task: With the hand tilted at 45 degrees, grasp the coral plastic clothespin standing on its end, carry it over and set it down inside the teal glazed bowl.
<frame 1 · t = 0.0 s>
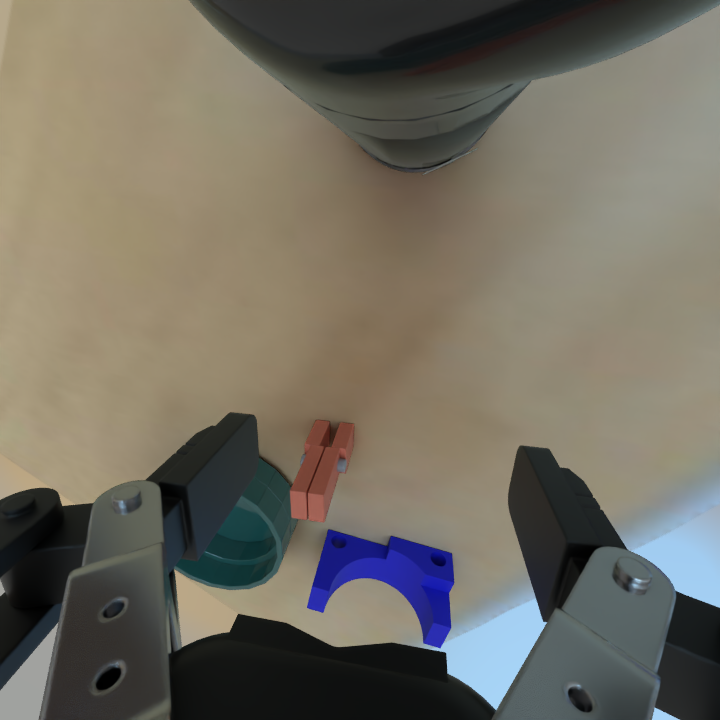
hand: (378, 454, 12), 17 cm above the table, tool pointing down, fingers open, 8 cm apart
cable clip: (385, 549, 37), on the table
clothespin: (334, 433, 32), on the table
bowl: (236, 497, 37), on the table
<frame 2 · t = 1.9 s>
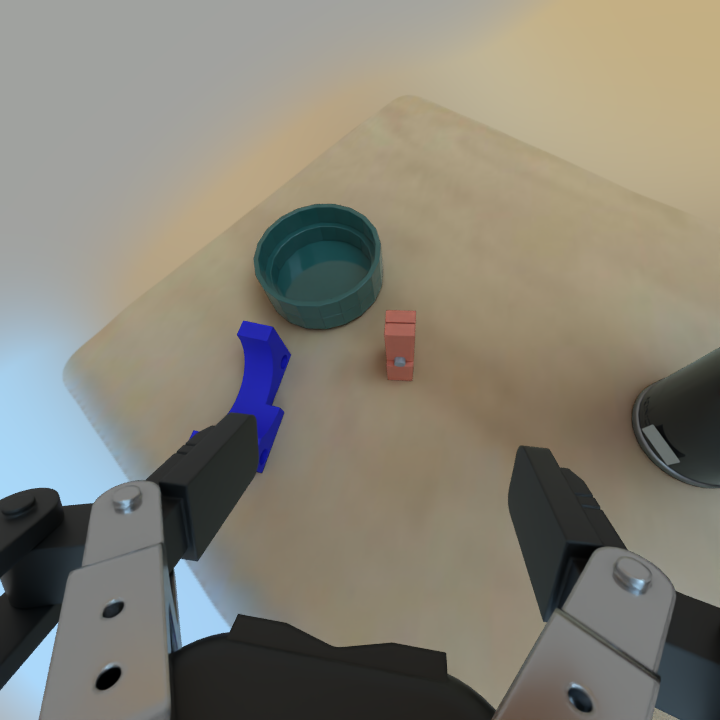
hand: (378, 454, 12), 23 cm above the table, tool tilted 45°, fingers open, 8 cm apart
cable clip: (264, 407, 37), on the table
clothespin: (400, 365, 38), on the table
bowl: (325, 280, 43), on the table
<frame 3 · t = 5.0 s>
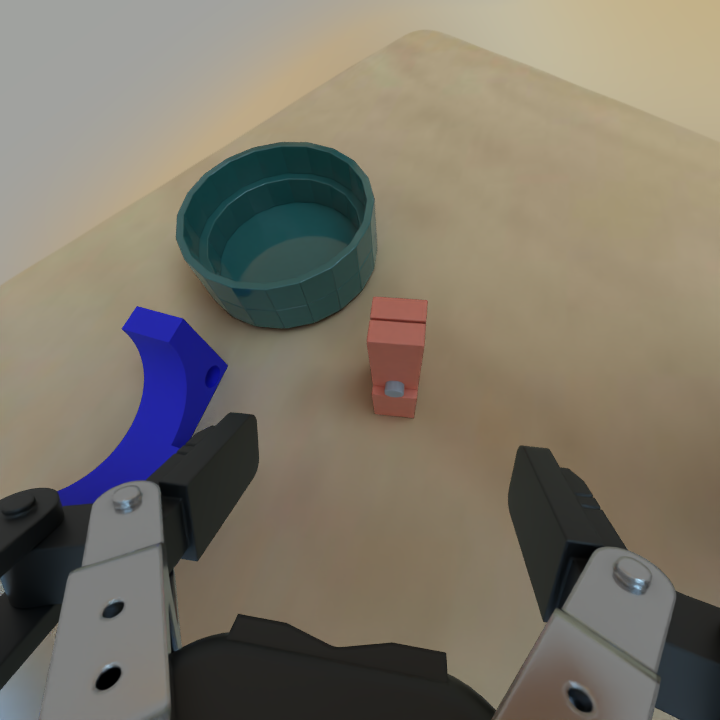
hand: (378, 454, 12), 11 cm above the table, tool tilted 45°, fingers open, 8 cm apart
cable clip: (175, 447, 23), on the table
clothespin: (396, 391, 24), on the table
bowl: (292, 258, 29), on the table
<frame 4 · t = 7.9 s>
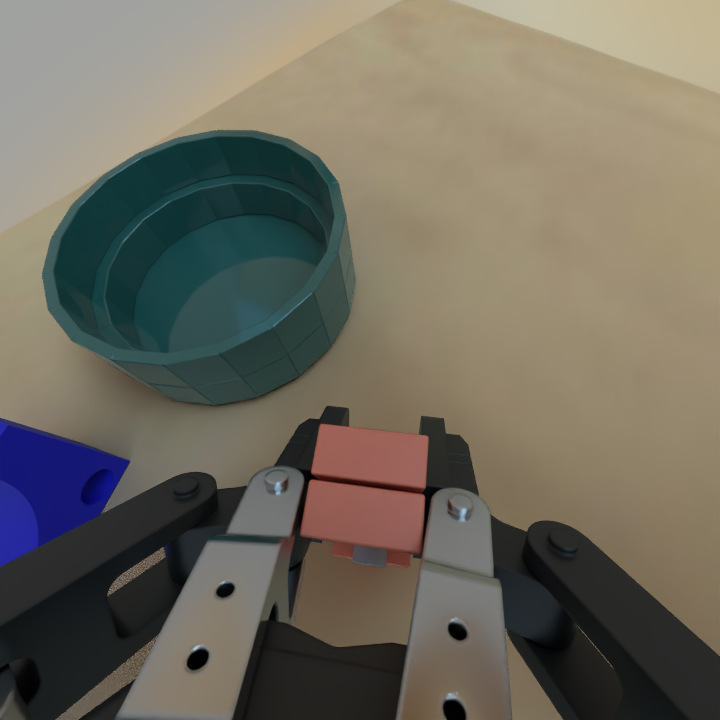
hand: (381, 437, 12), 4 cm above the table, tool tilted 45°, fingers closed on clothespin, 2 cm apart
cable clip: (35, 601, 15), on the table
clothespin: (379, 511, 15), on the table, touching gripper
bowl: (237, 294, 21), on the table
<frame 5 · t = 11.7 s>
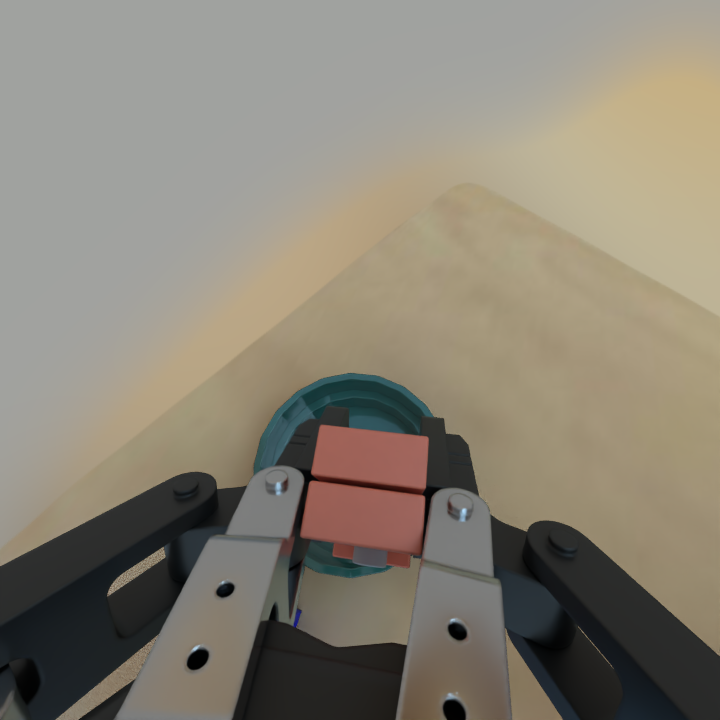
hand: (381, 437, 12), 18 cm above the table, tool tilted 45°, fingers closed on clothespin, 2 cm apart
clothespin: (379, 512, 15), point 14 cm above the table, touching gripper
bowl: (357, 475, 29), on the table
when the fingers open (5 cm above the table, at t = 16.0 s): clothespin stays where it is, resting on bowl.
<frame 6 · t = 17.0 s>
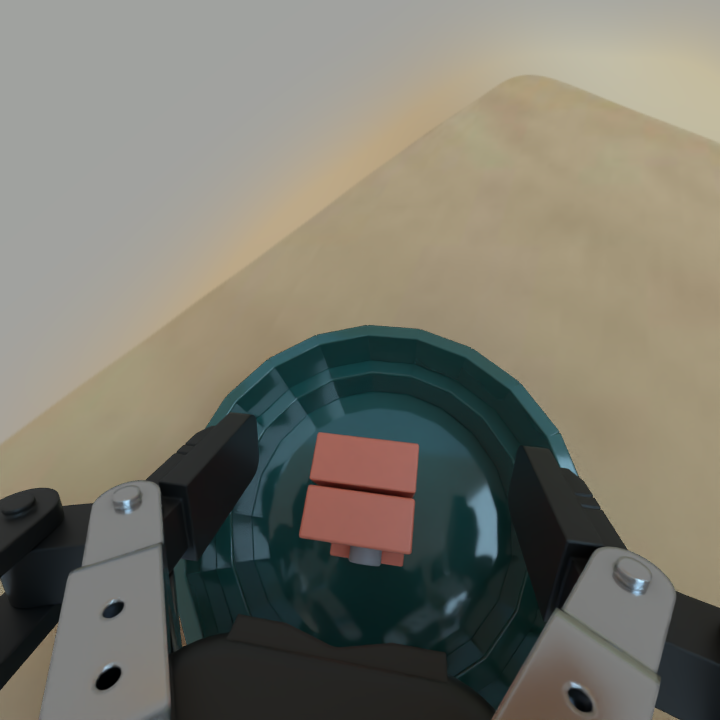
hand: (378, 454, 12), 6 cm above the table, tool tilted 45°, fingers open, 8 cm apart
clothespin: (375, 513, 16), resting on bowl
bowl: (378, 513, 16), on the table
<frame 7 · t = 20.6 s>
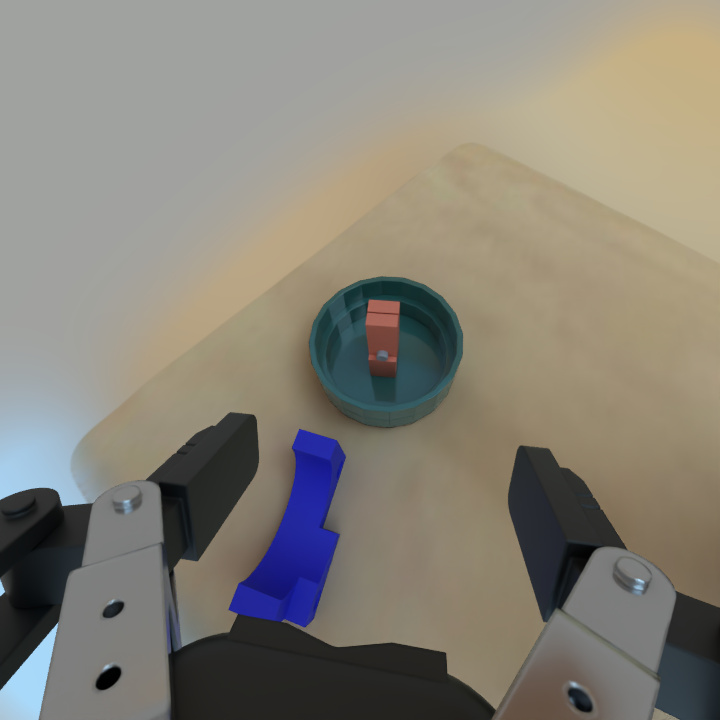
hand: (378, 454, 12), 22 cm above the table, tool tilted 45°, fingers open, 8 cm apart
cable clip: (314, 525, 31), on the table
clothespin: (384, 361, 36), resting on bowl
bowl: (385, 362, 37), on the table
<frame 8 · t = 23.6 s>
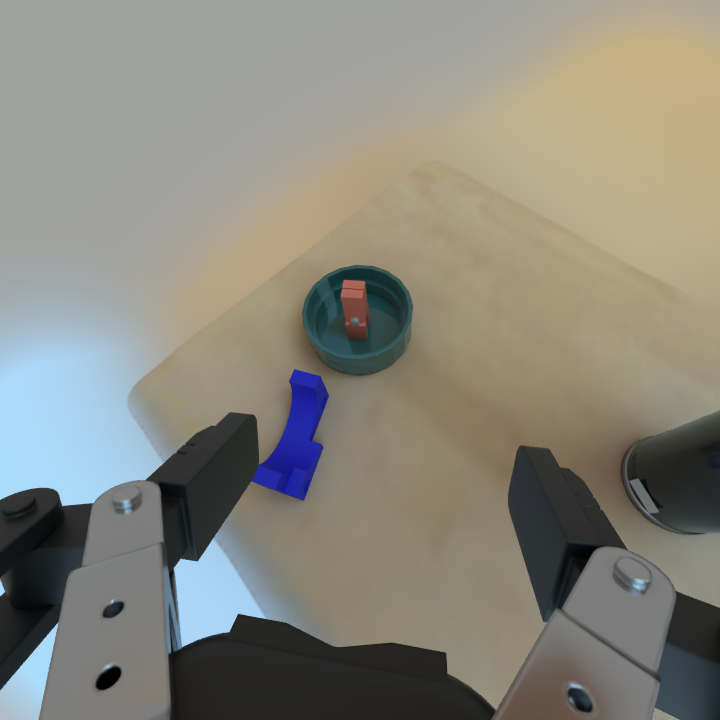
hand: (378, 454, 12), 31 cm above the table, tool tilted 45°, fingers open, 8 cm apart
cable clip: (305, 441, 43), on the table
clothespin: (359, 328, 48), resting on bowl
bowl: (360, 330, 49), on the table
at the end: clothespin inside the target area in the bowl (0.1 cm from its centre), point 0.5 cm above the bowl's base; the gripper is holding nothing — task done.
